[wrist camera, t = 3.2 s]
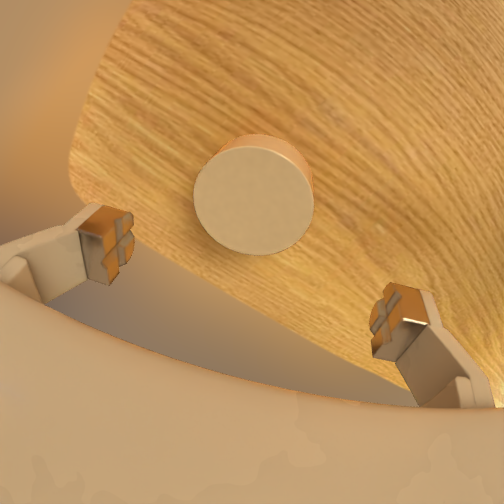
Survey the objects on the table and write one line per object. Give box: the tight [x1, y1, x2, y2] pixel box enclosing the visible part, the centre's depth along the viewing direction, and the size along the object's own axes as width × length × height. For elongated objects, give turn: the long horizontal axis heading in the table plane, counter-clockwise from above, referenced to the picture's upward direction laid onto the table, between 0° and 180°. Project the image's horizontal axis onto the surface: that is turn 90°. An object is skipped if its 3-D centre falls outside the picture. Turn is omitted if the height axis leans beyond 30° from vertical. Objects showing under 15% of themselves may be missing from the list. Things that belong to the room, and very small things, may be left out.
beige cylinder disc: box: [193, 134, 314, 256], centre depth 13 cm, size 5×5×3 cm
